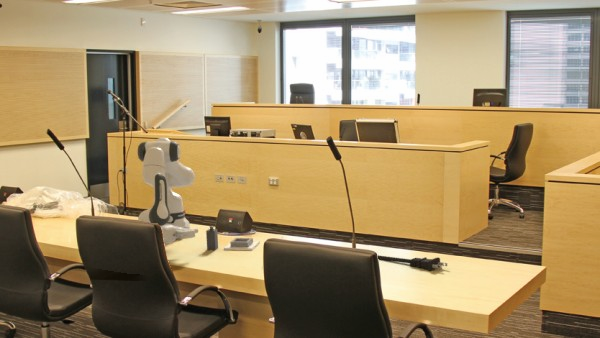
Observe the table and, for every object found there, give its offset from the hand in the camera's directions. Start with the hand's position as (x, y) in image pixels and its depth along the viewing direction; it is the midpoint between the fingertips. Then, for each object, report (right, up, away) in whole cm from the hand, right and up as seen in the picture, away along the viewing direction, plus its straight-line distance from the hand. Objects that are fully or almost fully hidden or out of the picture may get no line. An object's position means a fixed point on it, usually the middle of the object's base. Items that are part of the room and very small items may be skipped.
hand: (191, 229), depth 370 cm
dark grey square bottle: (+9, -11, +10) cm, 18 cm away
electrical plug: (+103, -14, -30) cm, 108 cm away
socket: (+24, -10, +13) cm, 29 cm away
